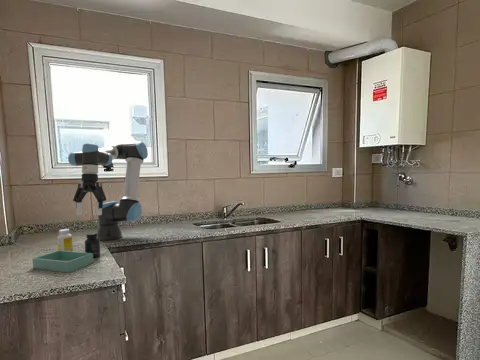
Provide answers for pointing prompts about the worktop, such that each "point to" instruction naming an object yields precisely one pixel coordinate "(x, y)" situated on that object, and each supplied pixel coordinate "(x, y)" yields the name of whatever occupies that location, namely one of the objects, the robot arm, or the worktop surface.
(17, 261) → the worktop surface
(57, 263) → the green tray
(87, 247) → the supplement bottle
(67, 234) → the supplement bottle
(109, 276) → the worktop surface
